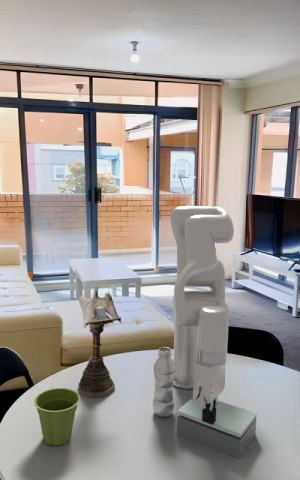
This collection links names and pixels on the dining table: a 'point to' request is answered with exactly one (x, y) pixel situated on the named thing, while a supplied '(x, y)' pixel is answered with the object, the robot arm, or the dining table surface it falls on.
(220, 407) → the cover
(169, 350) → the plastic bottle
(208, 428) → the grey open box
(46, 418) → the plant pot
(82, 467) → the dining table surface
